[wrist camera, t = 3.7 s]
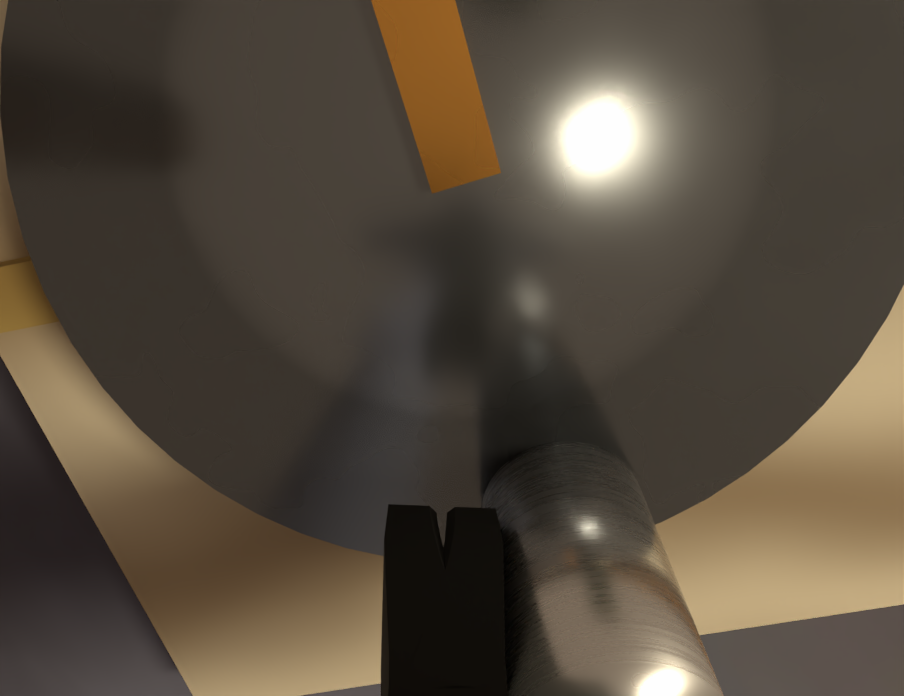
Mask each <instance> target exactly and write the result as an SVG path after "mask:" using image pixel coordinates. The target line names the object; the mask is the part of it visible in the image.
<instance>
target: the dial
mask: <svg viewBox="0 0 904 696" xmlns="http://www.w3.org/2000/svg"><path fill="white" fill-rule="evenodd" d="M0 119H1V127H2V136H3V144H4V152H5V161H6V169H7V177H8V182H9V186H10V190H11V194H12V198H13V202H14V206H15V209H16V213H17V217H18V221H19V225H20V229H21V233H22V237H23V240H24V243H25V245H26V248H27V250H28V253H29V255H30V258H31V260H32V263H33V266H34V268H35V271H36V273H37V276H38V278H39V281H40V283H41V286H42V289H43V291H44V293H45V295H46V297H47V299H48V301H49V303H50V305H51V306H52V308H53V310H54V312H55V314H56V316H57V318H58V319H59V321H60V323H61V325H62V327H63V329H64V331H65V332H66V334H67V336H68V338H69V340H70V342H71V343H72V345H73V346H74V348H75V349H76V351H77V352H78V353H79V355H80V356H81V358H82V359H83V360H84V362H85V363H86V365H87V366H88V368H89V369H90V370H91V372H92V373H93V375H94V376H95V378H96V379H97V380H98V382H99V383H100V385H101V386H102V388H103V389H104V390H105V391H106V392H107V393H108V394H109V395H110V397H111V398H112V399H113V400H114V401H115V402H116V403H117V404H118V406H119V407H120V408H121V409H122V410H123V411H124V412H125V414H126V415H127V416H128V417H129V418H130V419H131V420H132V421H133V423H134V424H135V425H136V426H137V427H138V428H139V429H140V430H141V431H142V432H144V433H145V434H146V435H147V436H148V437H149V438H150V439H151V440H152V441H154V442H155V443H156V444H157V445H158V446H159V447H160V448H161V449H162V450H164V451H165V452H166V453H167V454H168V455H169V456H170V457H171V458H172V459H173V460H175V461H176V462H177V463H179V464H180V465H181V466H183V467H184V468H186V469H187V470H188V471H190V472H191V473H192V474H194V475H195V476H197V477H198V478H199V479H201V480H202V481H203V482H205V483H206V484H208V485H209V486H210V487H212V488H213V489H215V490H216V491H218V492H220V493H221V494H223V495H225V496H227V497H228V498H230V499H232V500H234V501H235V502H237V503H239V504H241V505H242V506H244V507H246V508H248V509H249V510H251V511H253V512H254V513H256V514H258V515H260V516H263V517H265V518H267V519H269V520H272V521H274V522H276V523H278V524H281V525H283V526H285V527H288V528H290V529H292V530H294V531H297V532H299V533H301V534H304V535H307V536H310V537H313V538H316V539H320V540H323V541H326V542H329V543H332V544H335V545H338V546H341V547H344V548H348V549H353V550H357V551H362V552H367V553H371V554H376V555H380V556H384V535H385V527H386V519H387V511H388V504H395V505H421V506H430V507H431V508H432V509H434V510H435V511H436V512H437V521H438V526H439V531H440V536H441V540H442V544H443V547H444V542H445V531H446V518H447V512H448V511H450V510H451V509H453V508H454V507H474V508H496V512H497V516H498V520H499V524H500V529H501V534H502V539H503V550H504V605H505V661H506V675H507V689H508V696H724V695H723V693H722V690H721V688H720V685H719V683H718V680H717V678H716V675H715V673H714V670H713V668H712V665H711V663H710V660H709V658H708V655H707V653H706V650H705V648H704V646H703V643H702V641H701V638H700V636H699V633H698V631H697V628H696V626H695V623H694V621H693V618H692V616H691V613H690V611H689V608H688V606H687V603H686V601H685V598H684V596H683V593H682V591H681V588H680V586H679V583H678V581H677V578H676V576H675V573H674V571H673V568H672V566H671V563H670V561H669V558H668V556H667V553H666V551H665V548H664V546H663V543H662V541H661V538H660V536H659V533H658V531H657V528H656V526H655V525H656V524H658V523H661V522H663V521H665V520H667V519H669V518H671V517H673V516H675V515H677V514H679V513H681V512H683V511H685V510H687V509H689V508H691V507H692V506H694V505H696V504H698V503H700V502H702V501H704V500H706V499H708V498H709V497H711V496H712V495H714V494H715V493H717V492H718V491H720V490H722V489H723V488H725V487H726V486H728V485H729V484H731V483H732V482H734V481H735V480H737V479H739V478H740V477H742V476H743V475H745V474H746V473H748V472H749V471H750V470H752V469H753V468H754V467H755V466H757V465H758V464H759V463H760V462H761V461H763V460H764V459H765V458H766V457H768V456H769V455H770V454H771V453H773V452H774V451H775V450H776V449H778V448H779V447H780V446H781V445H783V444H784V443H785V442H786V441H788V440H789V439H790V438H791V437H792V436H793V435H794V434H795V433H796V432H797V431H798V430H799V429H800V428H801V427H802V426H803V425H804V424H805V423H806V422H807V421H808V420H809V419H810V418H811V417H812V416H813V415H814V414H815V413H816V412H817V411H818V410H819V409H820V408H821V407H822V406H823V405H824V404H825V403H826V401H827V400H828V399H829V398H830V396H831V395H832V394H833V393H834V392H835V390H836V389H837V388H838V387H839V385H840V384H841V383H842V382H843V380H844V379H845V378H846V377H847V376H848V374H849V373H850V372H851V371H852V369H853V368H854V367H855V366H856V365H857V363H858V362H859V360H860V359H861V357H862V356H863V354H864V353H865V351H866V350H867V348H868V346H869V345H870V343H871V342H872V340H873V339H874V337H875V336H876V334H877V333H878V331H879V329H880V328H881V326H882V325H883V323H884V322H885V320H886V319H887V317H888V315H889V313H890V311H891V309H892V307H893V305H894V303H895V301H896V299H897V297H898V295H899V293H900V291H901V289H902V287H903V285H904V0H8V5H7V11H6V18H5V24H4V31H3V37H2V44H1V78H0Z"/></svg>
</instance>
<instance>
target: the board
mask: <svg viewBox="0 0 904 696" xmlns="http://www.w3.org/2000/svg"><path fill="white" fill-rule="evenodd" d="M7 5H8V0H0V78H1V44H2V37H3V31H4V24H5V18H6V11H7ZM0 356H1V358H2V359H3V361H4V363H5V365H6V367H7V368H8V370H9V372H10V374H11V375H12V377H13V379H14V381H15V382H16V384H17V386H18V388H19V389H20V391H21V393H22V395H23V397H24V398H25V400H26V402H27V404H28V405H29V407H30V409H31V411H32V412H33V414H34V416H35V418H36V419H37V421H38V423H39V425H40V427H41V428H42V430H43V432H44V434H45V435H46V437H47V439H48V441H49V442H50V444H51V446H52V448H53V449H54V451H55V453H56V455H57V457H58V458H59V460H60V462H61V464H62V465H63V467H64V469H65V471H66V472H67V474H68V476H69V478H70V479H71V481H72V483H73V485H74V487H75V488H76V490H77V492H78V494H79V495H80V497H81V499H82V501H83V502H84V504H85V506H86V508H87V509H88V511H89V513H90V515H91V517H92V518H93V520H94V522H95V524H96V525H97V527H98V529H99V531H100V532H101V534H102V536H103V538H104V539H105V541H106V543H107V545H108V547H109V548H110V550H111V552H112V554H113V555H114V557H115V559H116V561H117V562H118V564H119V566H120V568H121V569H122V571H123V573H124V575H125V577H126V578H127V580H128V582H129V584H130V585H131V587H132V589H133V591H134V592H135V594H136V596H137V598H138V599H139V601H140V603H141V605H142V607H143V608H144V610H145V612H146V614H147V615H148V617H149V619H150V621H151V622H152V624H153V626H154V628H155V629H156V631H157V633H158V635H159V637H160V638H161V640H162V642H163V644H164V645H165V647H166V649H167V651H168V652H169V654H170V656H171V658H172V659H173V661H174V663H175V665H176V667H177V668H178V670H179V672H180V674H181V675H182V677H183V679H184V681H185V682H186V684H187V686H188V688H189V689H190V691H191V693H192V695H193V696H300V695H306V694H313V693H320V692H326V691H333V690H340V689H346V688H353V687H359V686H366V685H373V684H379V683H381V639H382V600H383V561H384V556H380V555H376V554H371V553H367V552H362V551H357V550H353V549H348V548H344V547H341V546H338V545H335V544H332V543H329V542H326V541H323V540H320V539H316V538H313V537H310V536H307V535H304V534H301V533H299V532H297V531H294V530H292V529H290V528H288V527H285V526H283V525H281V524H278V523H276V522H274V521H272V520H269V519H267V518H265V517H263V516H260V515H258V514H256V513H254V512H253V511H251V510H249V509H248V508H246V507H244V506H242V505H241V504H239V503H237V502H235V501H234V500H232V499H230V498H228V497H227V496H225V495H223V494H221V493H220V492H218V491H216V490H215V489H213V488H212V487H210V486H209V485H208V484H206V483H205V482H203V481H202V480H201V479H199V478H198V477H197V476H195V475H194V474H192V473H191V472H190V471H188V470H187V469H186V468H184V467H183V466H181V465H180V464H179V463H177V462H176V461H175V460H173V459H172V458H171V457H170V456H169V455H168V454H167V453H166V452H165V451H164V450H162V449H161V448H160V447H159V446H158V445H157V444H156V443H155V442H154V441H152V440H151V439H150V438H149V437H148V436H147V435H146V434H145V433H144V432H142V431H141V430H140V429H139V428H138V427H137V426H136V425H135V424H134V423H133V421H132V420H131V419H130V418H129V417H128V416H127V415H126V414H125V412H124V411H123V410H122V409H121V408H120V407H119V406H118V404H117V403H116V402H115V401H114V400H113V399H112V398H111V397H110V395H109V394H108V393H107V392H106V391H105V390H104V389H103V388H102V386H101V385H100V383H99V382H98V380H97V379H96V378H95V376H94V375H93V373H92V372H91V370H90V369H89V368H88V366H87V365H86V363H85V362H84V360H83V359H82V358H81V356H80V355H79V353H78V352H77V351H76V349H75V348H74V346H73V345H72V343H71V342H70V340H69V338H68V336H67V334H66V332H65V331H64V329H63V327H62V325H61V323H60V321H59V319H58V318H57V316H56V314H55V312H54V310H53V308H52V306H51V305H50V303H49V301H48V299H47V297H46V295H45V293H44V291H43V289H42V286H41V283H40V281H39V278H38V276H37V273H36V271H35V268H34V266H33V263H32V260H31V258H30V255H29V253H28V250H27V248H26V245H25V243H24V240H23V237H22V233H21V229H20V225H19V221H18V217H17V213H16V209H15V206H14V202H13V198H12V194H11V190H10V186H9V182H8V177H7V169H6V161H5V152H4V144H3V136H2V127H1V119H0ZM655 526H656V528H657V531H658V533H659V536H660V538H661V541H662V543H663V546H664V548H665V551H666V553H667V556H668V558H669V561H670V563H671V566H672V568H673V571H674V573H675V576H676V578H677V581H678V583H679V586H680V588H681V591H682V593H683V596H684V598H685V601H686V603H687V606H688V608H689V611H690V613H691V616H692V618H693V621H694V623H695V626H696V628H697V631H698V633H699V635H704V634H710V633H717V632H723V631H730V630H737V629H743V628H750V627H756V626H763V625H770V624H776V623H783V622H790V621H796V620H803V619H809V618H816V617H823V616H829V615H836V614H843V613H849V612H856V611H862V610H869V609H876V608H882V607H889V606H895V605H902V604H904V285H903V287H902V289H901V291H900V293H899V295H898V297H897V299H896V301H895V303H894V305H893V307H892V309H891V311H890V313H889V315H888V317H887V319H886V320H885V322H884V323H883V325H882V326H881V328H880V329H879V331H878V333H877V334H876V336H875V337H874V339H873V340H872V342H871V343H870V345H869V346H868V348H867V350H866V351H865V353H864V354H863V356H862V357H861V359H860V360H859V362H858V363H857V365H856V366H855V367H854V368H853V369H852V371H851V372H850V373H849V374H848V376H847V377H846V378H845V379H844V380H843V382H842V383H841V384H840V385H839V387H838V388H837V389H836V390H835V392H834V393H833V394H832V395H831V396H830V398H829V399H828V400H827V401H826V403H825V404H824V405H823V406H822V407H821V408H820V409H819V410H818V411H817V412H816V413H815V414H814V415H813V416H812V417H811V418H810V419H809V420H808V421H807V422H806V423H805V424H804V425H803V426H802V427H801V428H800V429H799V430H798V431H797V432H796V433H795V434H794V435H793V436H792V437H791V438H790V439H789V440H788V441H786V442H785V443H784V444H783V445H781V446H780V447H779V448H778V449H776V450H775V451H774V452H773V453H771V454H770V455H769V456H768V457H766V458H765V459H764V460H763V461H761V462H760V463H759V464H758V465H757V466H755V467H754V468H753V469H752V470H750V471H749V472H748V473H746V474H745V475H743V476H742V477H740V478H739V479H737V480H735V481H734V482H732V483H731V484H729V485H728V486H726V487H725V488H723V489H722V490H720V491H718V492H717V493H715V494H714V495H712V496H711V497H709V498H708V499H706V500H704V501H702V502H700V503H698V504H696V505H694V506H692V507H691V508H689V509H687V510H685V511H683V512H681V513H679V514H677V515H675V516H673V517H671V518H669V519H667V520H665V521H663V522H661V523H658V524H656V525H655Z"/></svg>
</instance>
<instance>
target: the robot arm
mask: <svg viewBox="0 0 904 696" xmlns="http://www.w3.org/2000/svg"><path fill="white" fill-rule="evenodd" d="M381 696H508V689H507V675H506V661H505V605H504V550H503V539H502V534H501V529H500V524H499V520H498V516H497V512H496V508H474V507H454V508H453V509H451V510H450V511H448V512H447V518H446V531H445V542H444V547H443V544H442V540H441V536H440V531H439V526H438V521H437V512H436V511H435V510H434V509H432V508H431V507H430V506H421V505H395V504H388V511H387V519H386V527H385V535H384V561H383V600H382V639H381Z"/></svg>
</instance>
